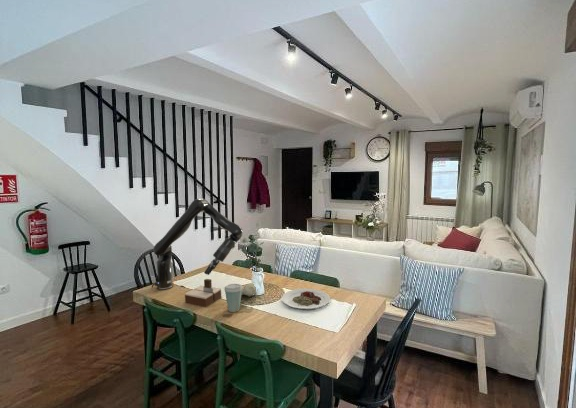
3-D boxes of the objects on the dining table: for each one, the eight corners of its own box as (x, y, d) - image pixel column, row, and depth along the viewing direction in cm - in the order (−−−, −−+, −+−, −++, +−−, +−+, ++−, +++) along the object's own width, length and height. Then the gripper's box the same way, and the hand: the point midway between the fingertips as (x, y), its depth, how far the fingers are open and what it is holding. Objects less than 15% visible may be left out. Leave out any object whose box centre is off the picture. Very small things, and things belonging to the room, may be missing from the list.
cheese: (240, 303, 198) (258, 288, 196) (234, 293, 201) (252, 279, 199) (250, 301, 213) (267, 287, 211) (245, 291, 215) (261, 278, 213)
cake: (185, 302, 195) (184, 293, 195) (201, 293, 209) (201, 285, 209) (205, 307, 189) (205, 297, 188) (221, 297, 203) (220, 288, 202)
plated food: (288, 314, 178) (287, 308, 177) (277, 294, 207) (277, 289, 206) (337, 307, 184) (337, 302, 184) (320, 289, 213) (320, 284, 213)
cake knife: (203, 300, 198) (202, 279, 196) (205, 299, 200) (204, 278, 198) (212, 302, 195) (211, 280, 194) (214, 301, 197) (213, 279, 196)
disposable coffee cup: (222, 308, 186) (221, 284, 185) (239, 304, 192) (238, 280, 190) (228, 315, 177) (227, 289, 176) (246, 310, 183) (245, 286, 181)
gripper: (215, 249, 207) (199, 270, 201) (219, 248, 194) (202, 270, 188) (224, 256, 208) (209, 277, 202) (228, 255, 195) (212, 277, 189)
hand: (206, 273), depth 195 cm, fingers open, 8 cm apart
